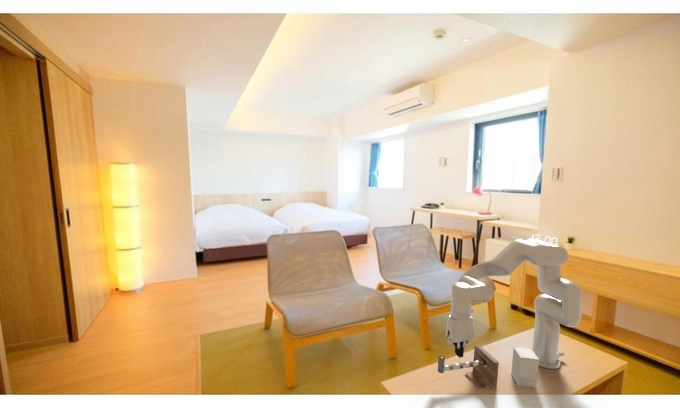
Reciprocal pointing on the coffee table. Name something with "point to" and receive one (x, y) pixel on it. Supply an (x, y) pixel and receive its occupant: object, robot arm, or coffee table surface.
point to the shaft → (456, 365)
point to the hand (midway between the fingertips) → (459, 355)
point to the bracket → (484, 369)
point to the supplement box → (525, 367)
